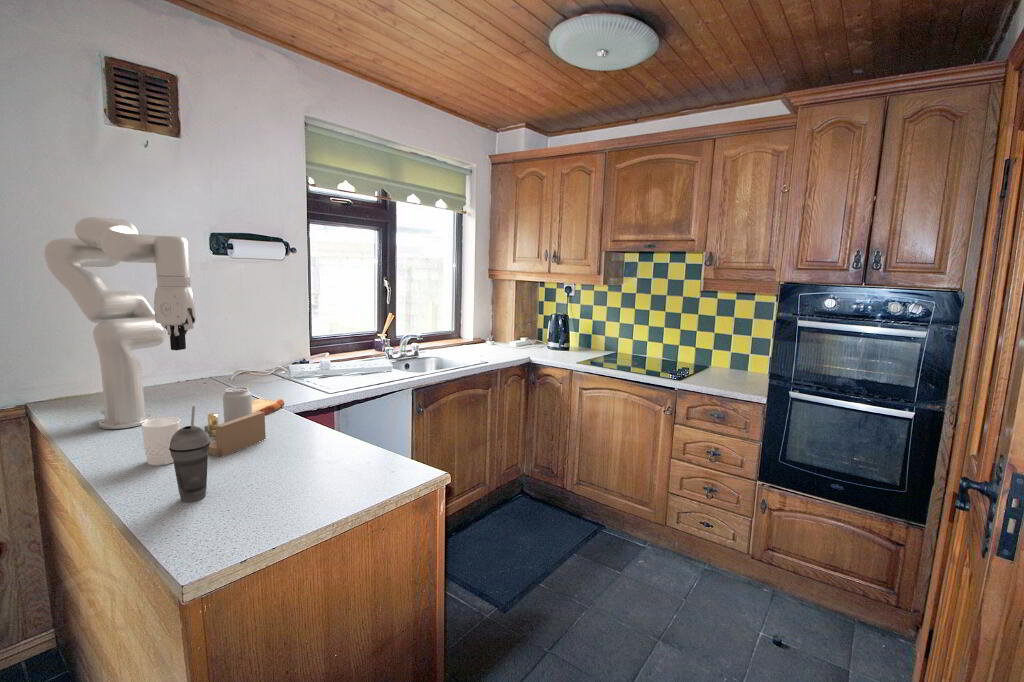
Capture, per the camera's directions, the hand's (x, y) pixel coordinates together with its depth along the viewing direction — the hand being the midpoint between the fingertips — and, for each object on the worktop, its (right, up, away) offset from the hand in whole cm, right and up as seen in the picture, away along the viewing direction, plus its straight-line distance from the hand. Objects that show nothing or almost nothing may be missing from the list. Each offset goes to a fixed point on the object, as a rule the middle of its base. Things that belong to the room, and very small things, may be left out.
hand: (178, 349), depth 136 cm
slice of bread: (+8, -22, +29) cm, 37 cm away
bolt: (+13, -24, -1) cm, 27 cm away
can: (+9, -24, +13) cm, 29 cm away
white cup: (+5, -28, -13) cm, 31 cm away
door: (+9, -26, +1) cm, 27 cm away
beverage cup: (+24, -31, -31) cm, 50 cm away
